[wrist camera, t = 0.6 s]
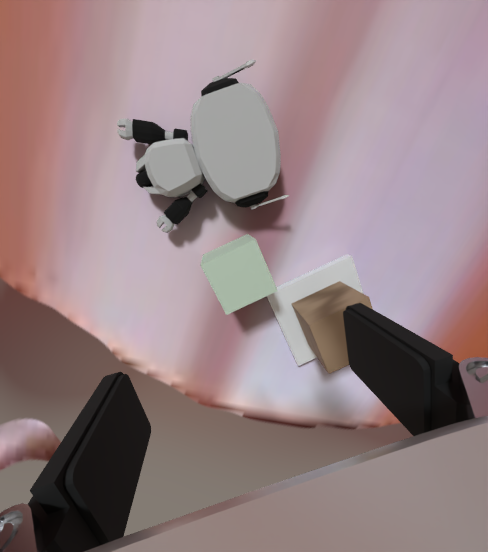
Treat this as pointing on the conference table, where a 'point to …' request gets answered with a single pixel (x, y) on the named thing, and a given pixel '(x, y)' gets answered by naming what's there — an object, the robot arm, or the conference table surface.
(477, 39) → the conference table surface
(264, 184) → the robot toy
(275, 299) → the build plate
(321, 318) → the walnut block
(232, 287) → the green block
